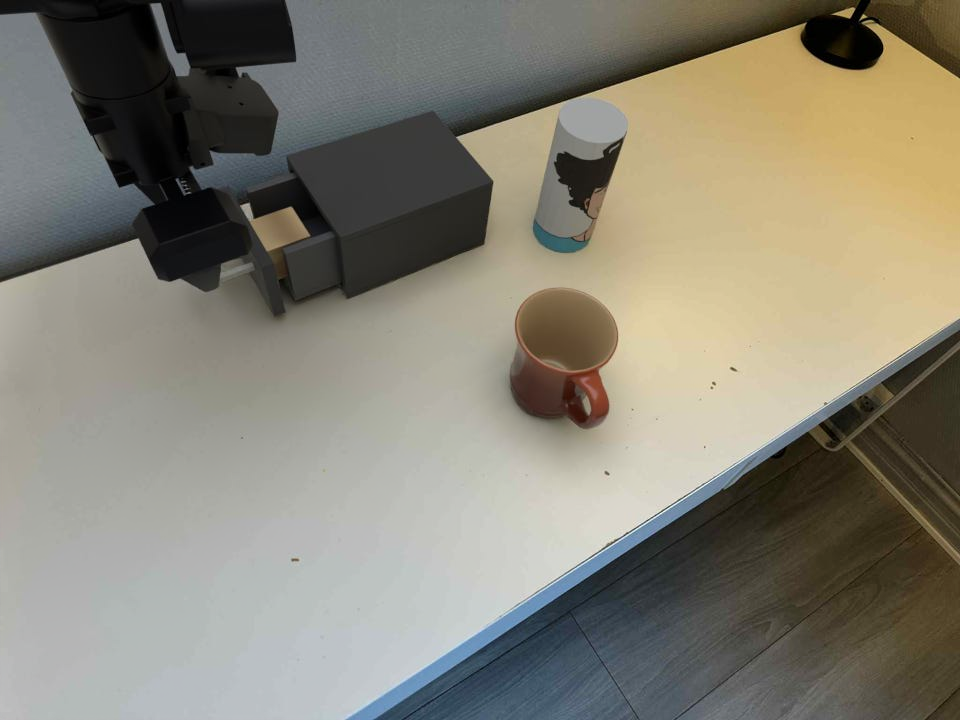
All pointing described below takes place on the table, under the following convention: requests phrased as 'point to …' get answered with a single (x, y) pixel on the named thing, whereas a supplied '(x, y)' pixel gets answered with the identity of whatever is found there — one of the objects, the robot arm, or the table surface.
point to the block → (279, 235)
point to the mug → (563, 355)
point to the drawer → (305, 261)
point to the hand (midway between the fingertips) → (190, 248)
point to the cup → (578, 172)
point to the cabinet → (396, 198)
